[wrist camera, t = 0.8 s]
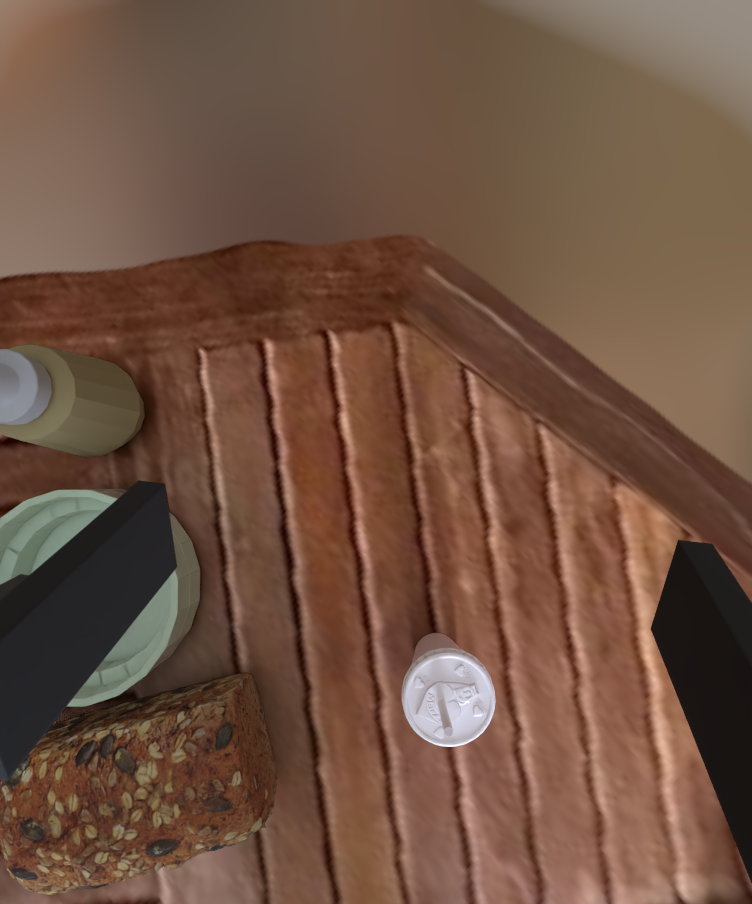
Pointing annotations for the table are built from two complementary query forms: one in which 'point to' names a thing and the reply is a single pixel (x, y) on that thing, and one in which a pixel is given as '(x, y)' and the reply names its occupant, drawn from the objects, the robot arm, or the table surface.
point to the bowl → (156, 628)
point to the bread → (139, 787)
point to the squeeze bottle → (67, 401)
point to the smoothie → (447, 693)
